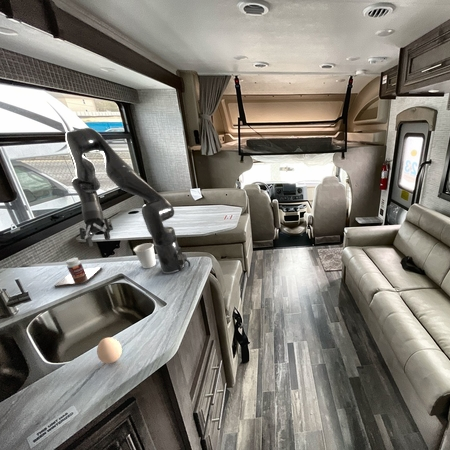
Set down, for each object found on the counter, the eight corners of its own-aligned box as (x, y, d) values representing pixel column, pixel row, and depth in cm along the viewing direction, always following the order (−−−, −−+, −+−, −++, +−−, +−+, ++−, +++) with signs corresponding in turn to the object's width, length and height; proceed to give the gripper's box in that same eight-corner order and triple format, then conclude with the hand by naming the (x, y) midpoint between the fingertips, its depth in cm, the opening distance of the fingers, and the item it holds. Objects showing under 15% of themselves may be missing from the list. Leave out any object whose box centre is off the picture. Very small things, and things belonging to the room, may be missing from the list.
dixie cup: (161, 259, 123) (156, 242, 119) (154, 268, 115) (149, 250, 111) (144, 261, 122) (138, 244, 118) (136, 270, 114) (129, 252, 110)
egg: (114, 351, 73) (105, 330, 69) (129, 353, 72) (120, 333, 68) (98, 367, 68) (87, 346, 65) (113, 370, 67) (103, 348, 64)
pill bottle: (77, 279, 107) (70, 263, 104) (69, 278, 108) (61, 262, 105) (88, 273, 112) (81, 257, 108) (80, 272, 113) (73, 256, 109)
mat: (102, 269, 117) (101, 267, 116) (85, 283, 106) (84, 282, 105) (74, 272, 115) (73, 270, 115) (55, 287, 104) (54, 285, 104)
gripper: (71, 216, 115) (77, 247, 112) (99, 205, 116) (106, 236, 112) (85, 220, 122) (91, 249, 119) (112, 209, 123) (119, 238, 120)
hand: (99, 243), depth 116 cm, fingers open, 8 cm apart
